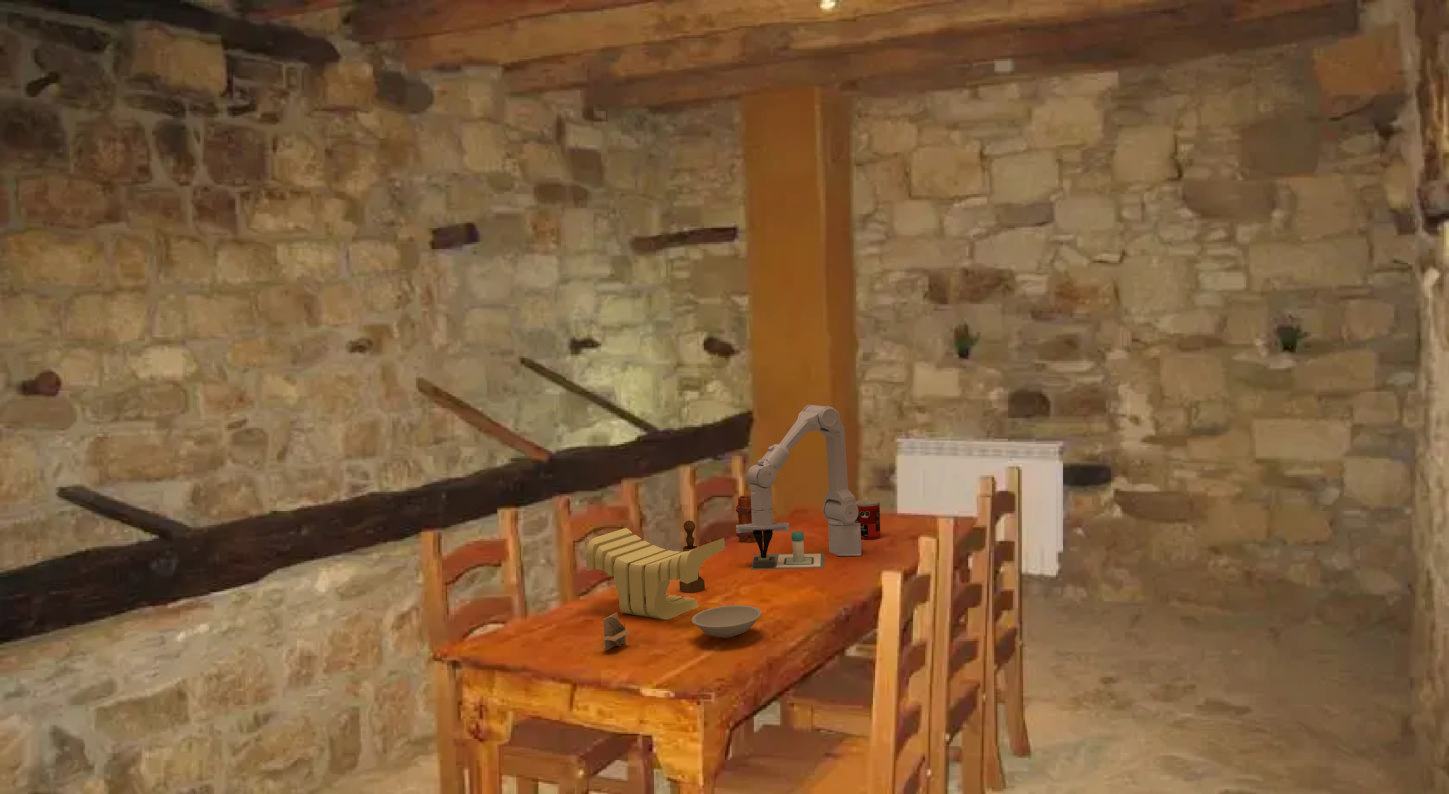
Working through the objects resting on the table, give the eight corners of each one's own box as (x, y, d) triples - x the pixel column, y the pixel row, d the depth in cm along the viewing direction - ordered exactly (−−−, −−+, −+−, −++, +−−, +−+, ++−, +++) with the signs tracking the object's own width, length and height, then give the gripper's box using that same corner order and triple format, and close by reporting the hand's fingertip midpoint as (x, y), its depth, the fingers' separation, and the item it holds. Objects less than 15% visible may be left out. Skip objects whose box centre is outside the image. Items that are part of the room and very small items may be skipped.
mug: (763, 545, 345) (761, 496, 344) (736, 546, 345) (734, 497, 344) (762, 535, 360) (760, 487, 358) (736, 536, 360) (734, 488, 359)
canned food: (849, 536, 352) (848, 501, 351) (871, 533, 355) (870, 498, 354) (862, 541, 345) (861, 505, 344) (885, 538, 348) (884, 502, 347)
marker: (802, 558, 321) (801, 530, 320) (806, 561, 318) (805, 533, 317) (791, 560, 320) (789, 532, 320) (794, 562, 317) (793, 534, 316)
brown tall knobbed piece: (701, 593, 293) (698, 523, 292) (677, 592, 294) (673, 523, 293) (707, 586, 300) (704, 518, 298) (683, 586, 301) (679, 518, 299)
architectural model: (632, 646, 252) (630, 613, 251) (615, 656, 246) (613, 622, 245) (618, 645, 253) (617, 612, 253) (601, 654, 247) (600, 620, 247)
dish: (724, 623, 265) (723, 602, 265) (776, 631, 257) (775, 609, 257) (677, 644, 251) (676, 621, 251) (731, 653, 243) (730, 630, 242)
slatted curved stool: (589, 612, 280) (585, 540, 278) (629, 596, 293) (626, 527, 291) (688, 628, 263) (685, 551, 261) (727, 610, 276) (724, 537, 274)
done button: (769, 562, 317) (769, 555, 317) (769, 565, 314) (768, 558, 314) (758, 563, 318) (758, 556, 318) (758, 565, 315) (757, 558, 315)
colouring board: (824, 555, 328) (824, 546, 328) (824, 570, 311) (823, 561, 310) (754, 557, 330) (754, 548, 330) (750, 572, 313) (750, 562, 312)
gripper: (786, 504, 319) (788, 552, 320) (734, 507, 319) (736, 555, 320) (789, 509, 312) (790, 558, 313) (735, 512, 311) (737, 561, 313)
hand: (763, 557), depth 316 cm, fingers closed, pressing on done button
